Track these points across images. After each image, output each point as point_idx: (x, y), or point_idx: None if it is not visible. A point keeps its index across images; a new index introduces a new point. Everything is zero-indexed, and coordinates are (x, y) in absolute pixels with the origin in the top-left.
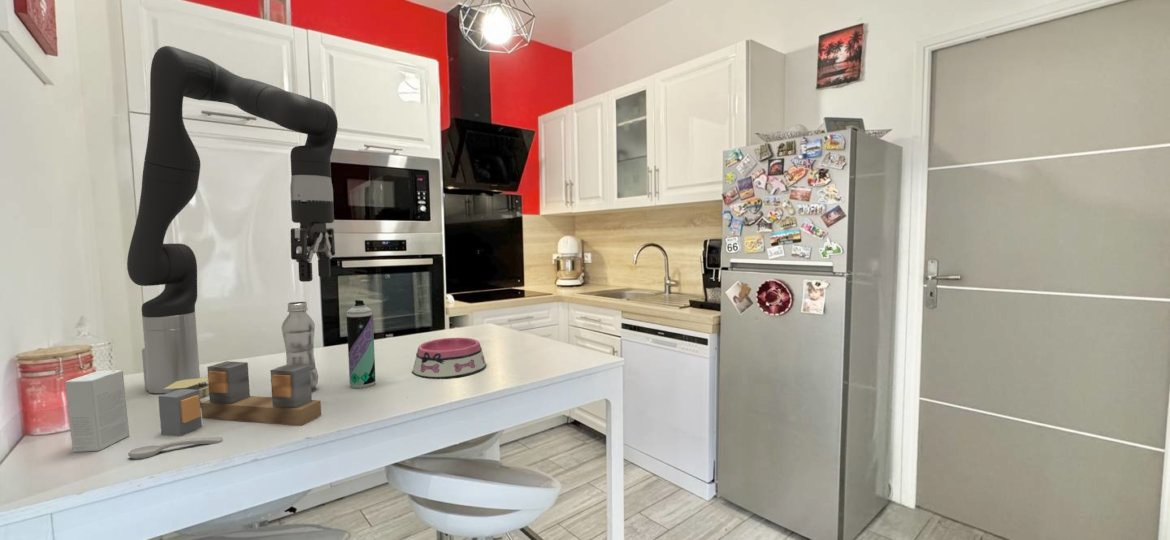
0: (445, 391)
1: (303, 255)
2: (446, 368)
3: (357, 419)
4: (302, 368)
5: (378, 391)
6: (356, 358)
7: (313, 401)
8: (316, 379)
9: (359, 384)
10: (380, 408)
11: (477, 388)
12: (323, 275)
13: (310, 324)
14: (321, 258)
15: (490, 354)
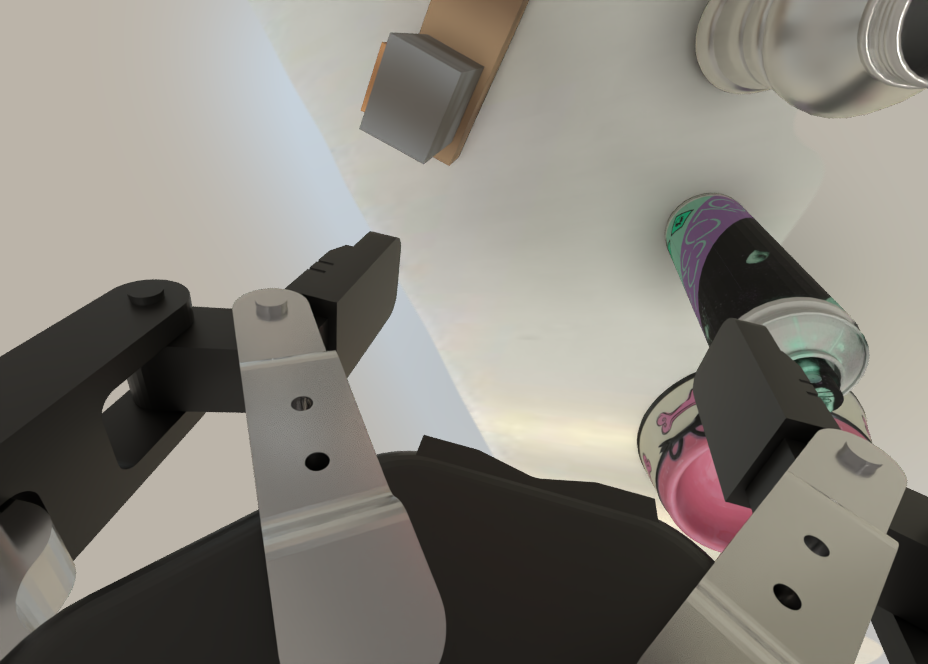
0: (539, 408)
1: (133, 400)
2: (651, 442)
3: (411, 244)
4: (394, 147)
5: (607, 276)
6: (685, 255)
7: (444, 148)
8: (725, 91)
9: (668, 228)
10: (468, 285)
11: (534, 460)
12: (713, 353)
13: (805, 106)
14: (779, 459)
15: None
